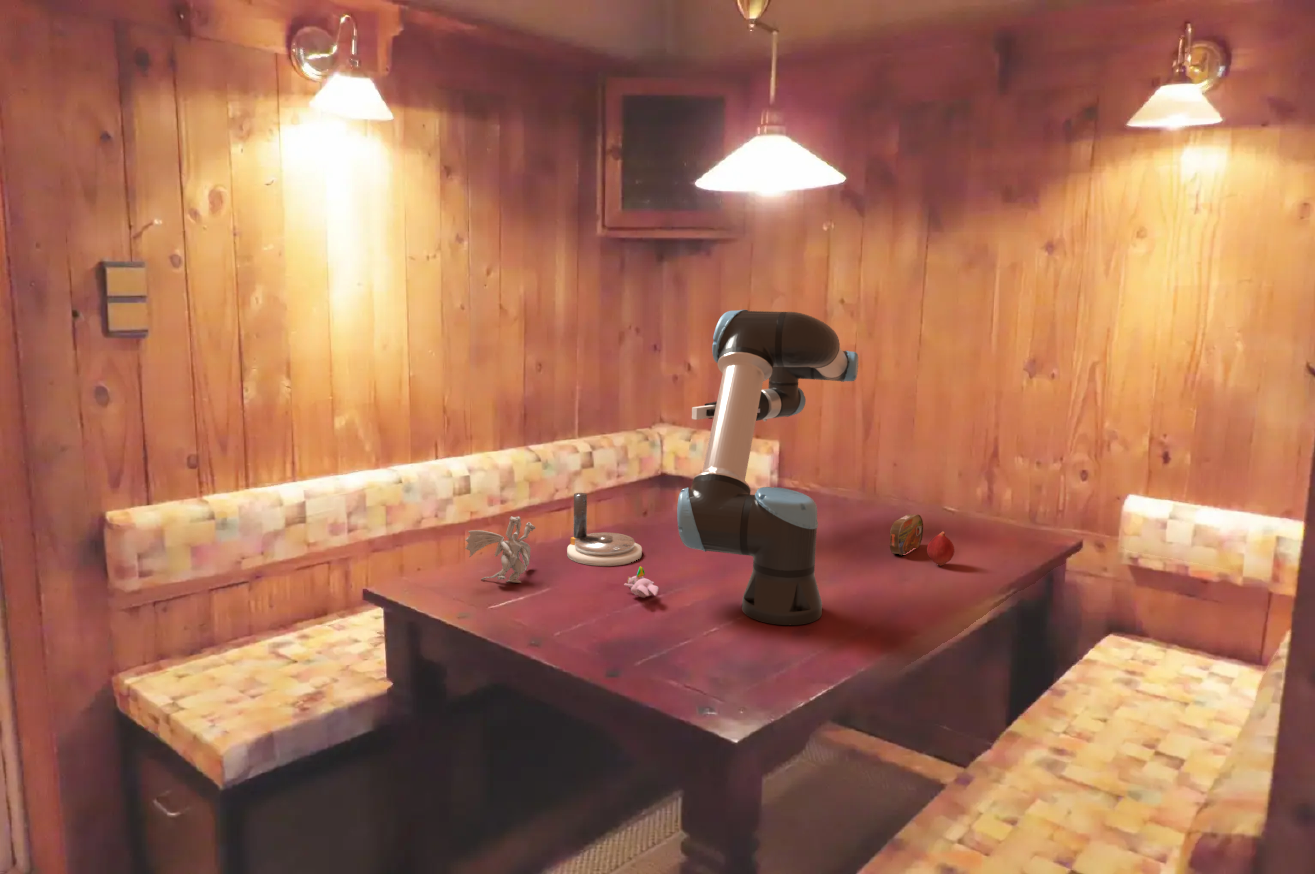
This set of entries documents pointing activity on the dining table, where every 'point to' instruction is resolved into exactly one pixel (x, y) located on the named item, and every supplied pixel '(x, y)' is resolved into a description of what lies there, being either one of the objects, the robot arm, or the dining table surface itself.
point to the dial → (596, 534)
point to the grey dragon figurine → (505, 548)
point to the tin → (906, 534)
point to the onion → (940, 549)
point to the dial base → (603, 560)
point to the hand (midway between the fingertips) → (694, 413)
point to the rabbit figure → (641, 585)
